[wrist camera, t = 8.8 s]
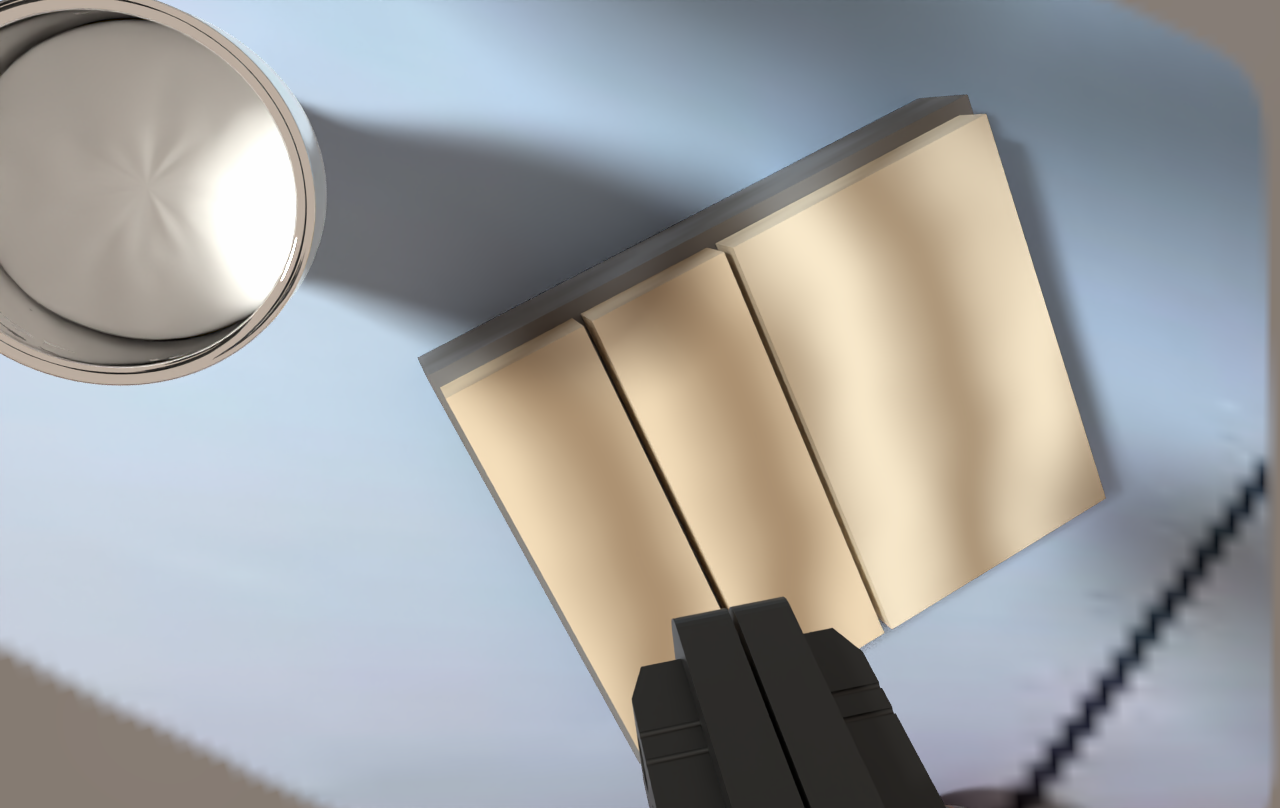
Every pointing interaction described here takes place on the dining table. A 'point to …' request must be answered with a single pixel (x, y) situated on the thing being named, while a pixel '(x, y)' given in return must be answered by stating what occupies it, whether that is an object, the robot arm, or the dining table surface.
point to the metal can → (145, 191)
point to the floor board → (662, 436)
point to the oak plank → (920, 364)
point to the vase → (953, 806)
